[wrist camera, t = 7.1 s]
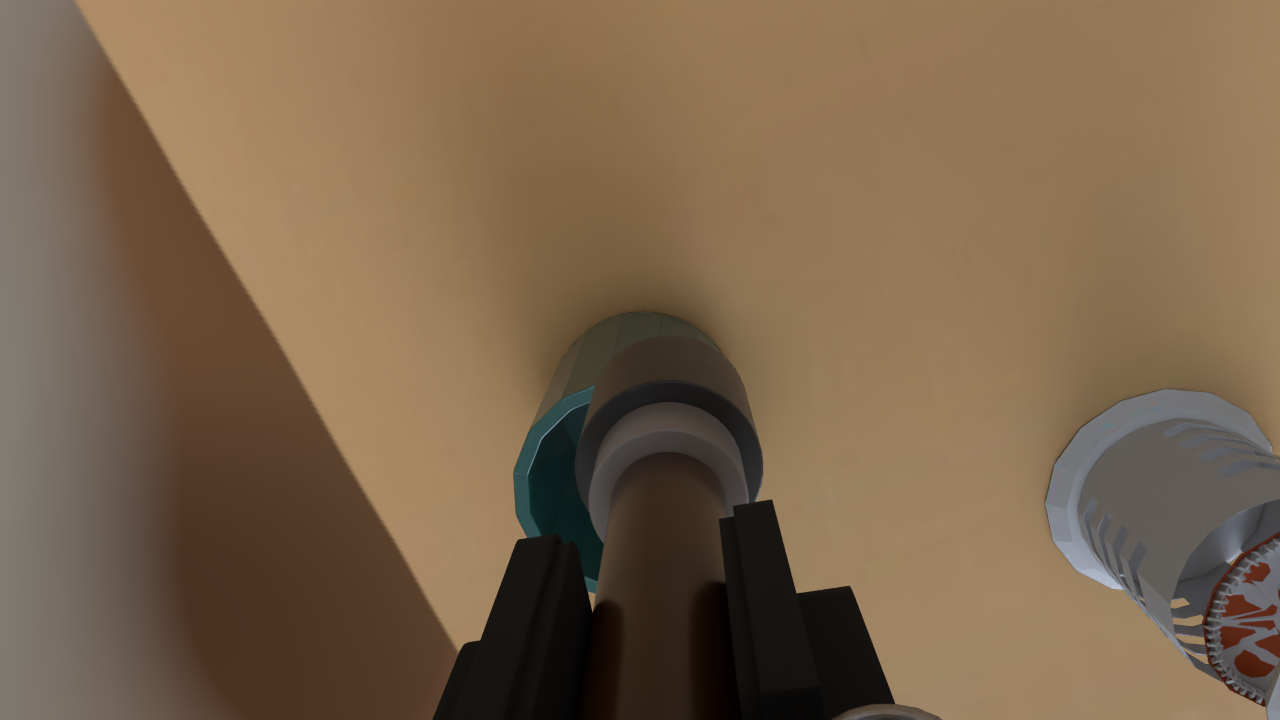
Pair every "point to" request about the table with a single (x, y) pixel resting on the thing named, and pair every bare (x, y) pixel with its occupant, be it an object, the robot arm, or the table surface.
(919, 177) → the table surface
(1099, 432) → the french press
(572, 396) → the cup
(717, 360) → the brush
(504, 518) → the table surface
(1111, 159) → the table surface
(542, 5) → the table surface
